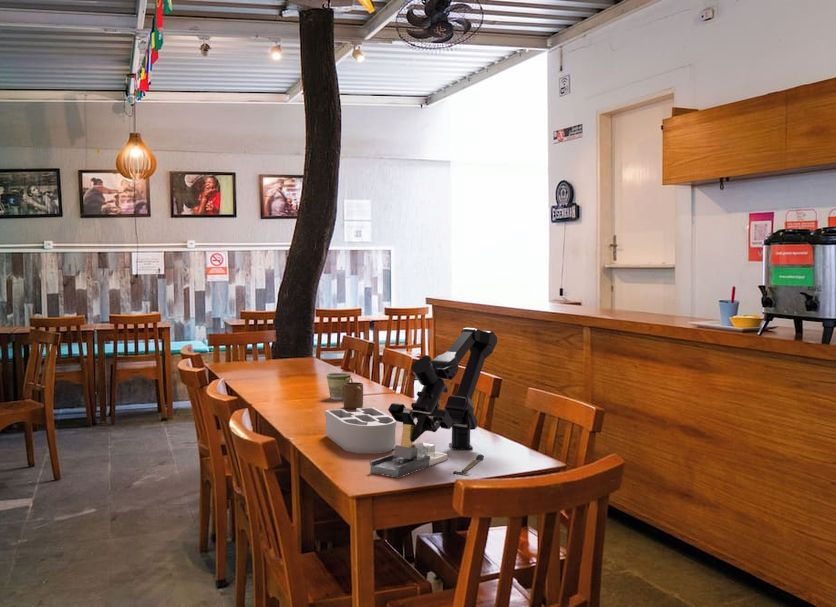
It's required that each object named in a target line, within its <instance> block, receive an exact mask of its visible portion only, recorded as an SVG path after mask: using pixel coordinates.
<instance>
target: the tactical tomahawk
mask: <svg viewBox="0 0 836 607" xmlns="http://www.w3.org/2000/svg"><path fill="white" fill-rule="evenodd" d="M483 458H485V456H484V454H478V455H476V457H475V459H473V460H472V461H471V462H470V463H469V464H467V465H466V466H465V467H463V469H462V470H461V471H457V470H454V471H453V472H452V474H453V475H455V474H456V475H458V476H465V477H470V475H471V474H469V472H468V471H470V470H471V469H472V468H474V466H476V465H477V464H479V462H481V461H482V460H483Z"/></svg>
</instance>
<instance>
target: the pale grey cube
mask: <svg viewBox="0 0 836 607" xmlns="http://www.w3.org/2000/svg"><path fill="white" fill-rule="evenodd" d="M424 443H425V442H417V441H414V442H413V448H418V452H417V459H419V458H422V457H423V444H424ZM414 460H416V459H414Z"/></svg>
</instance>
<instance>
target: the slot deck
mask: <svg viewBox="0 0 836 607" xmlns="http://www.w3.org/2000/svg"><path fill="white" fill-rule="evenodd" d="M429 460H430V456H425V457H422V458H419V459H416V460H414V459H406V458H401V457H395V456H394V453H392V454H388V455H386V456H382V457H378V458H376V459H373V460H371V461H369V466H370V474H374V473H377V474H376V475H379V474H384V475H389V476H393V477H392V478H394V477H400V476H403V475H405V476H407V475H406V474H408V473H411V472H413V473H415V472H414V471H416V470H419V469H421V470H423V469H422V468H424V469H426V468H428V466H429ZM425 467H426V468H425ZM429 467H430V466H429ZM419 471H420V470H419ZM416 472H417V471H416ZM411 474H412V473H411ZM384 475H383V476H384ZM408 475H409V474H408ZM389 476H388V477H389ZM403 477H404V476H403ZM400 478H401V477H400Z"/></svg>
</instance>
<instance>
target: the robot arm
mask: <svg viewBox="0 0 836 607" xmlns="http://www.w3.org/2000/svg"><path fill="white" fill-rule="evenodd" d="M497 343H498V336H497V335H496V334H495V332H494V331H492V330H481V329H478V328H477V327H476V328H474V327H465V328H462V329H461V332H460V334H459V335H458V336H457V338H456V339H455V340H454V342H453V343H452V344H451V345H450V347H449V348H448V349H447V350H446V352H444V353H442V354H439V355H437V356H436V357H434V359H432V358H431V356H430V355H423V356H422V358H419V359H417V360H415V361H414V362H413V363H412V365H411V372H412V373H413V374H414V376H415V377H416V379H417V381H418V383H419V384H420V385H422V386H423V387H422V389H421V391H417V392H416V396H417V398H416V401H415V402H412V403H411V404H410V407H411V408H409V407H408V408H407V407H406V406H405V404H403V403H397V402H392V403H391V404H390V405H389V407H388V409H387V411H388V412H389V413H390V415H391V417H393V418H394V419H395V420H396V423H397V422H399V423H402V425H403V424H408V425H414V426H415V429H414V431H413V434H412V438H411V441H412V442H416V441H417V440H418V439H419V438H420V437H421V436H422V435H423V434H424V433H425V432H432V433H436V432H437V431H438V430H439V429H440V428H441V429H445V430H451V443H448V446H449V448H451V450H473V449H474V447H473V445H471V431H472V430H476V429H477V428H478V422H479V421H478V419H477V417H476V416H475V414H474V409H475V408H474V405H473V401H472V399H473V396H474V394H475V390H476V387H477V384H478V381H479V378H480V375H481V372H482V369H483V366H484V362H485V360H486V359H487V358H488V357H489V356H490V355H492V354H493V352H494V350H495V347H496V346H497ZM468 351H469V356H468V359H467V363H466V365H465V368H464V370H463V373H462V376H461V379H460V383H459V386H458V388H457V392H456V393H455V394H454V395H449V396H448V398H447V401H446V403H445V406H444V409H441V408H440V404H439V401H440V398H441V397H442V395H443V393H445V394H447V393H448V392H449V391H448V386H447V383H446V382H445V381H444V380H448V381H452V380H454V378H455V377H456V375H457V373H458V372H459V364H460V362H461V360H463V358H464V357H465V355H466V354H467V353H468ZM415 420H417V421H416V423H415Z"/></svg>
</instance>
